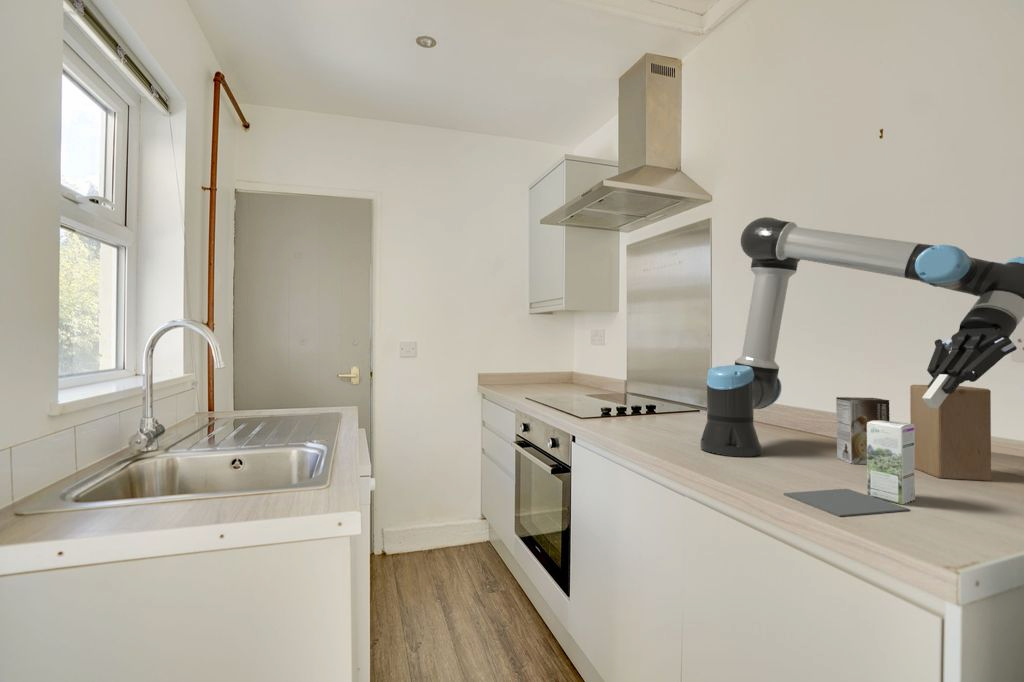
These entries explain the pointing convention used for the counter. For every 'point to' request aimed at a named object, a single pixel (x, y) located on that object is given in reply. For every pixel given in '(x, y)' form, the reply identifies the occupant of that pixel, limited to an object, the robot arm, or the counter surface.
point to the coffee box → (857, 425)
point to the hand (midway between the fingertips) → (929, 403)
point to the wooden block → (953, 433)
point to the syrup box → (891, 461)
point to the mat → (845, 502)
